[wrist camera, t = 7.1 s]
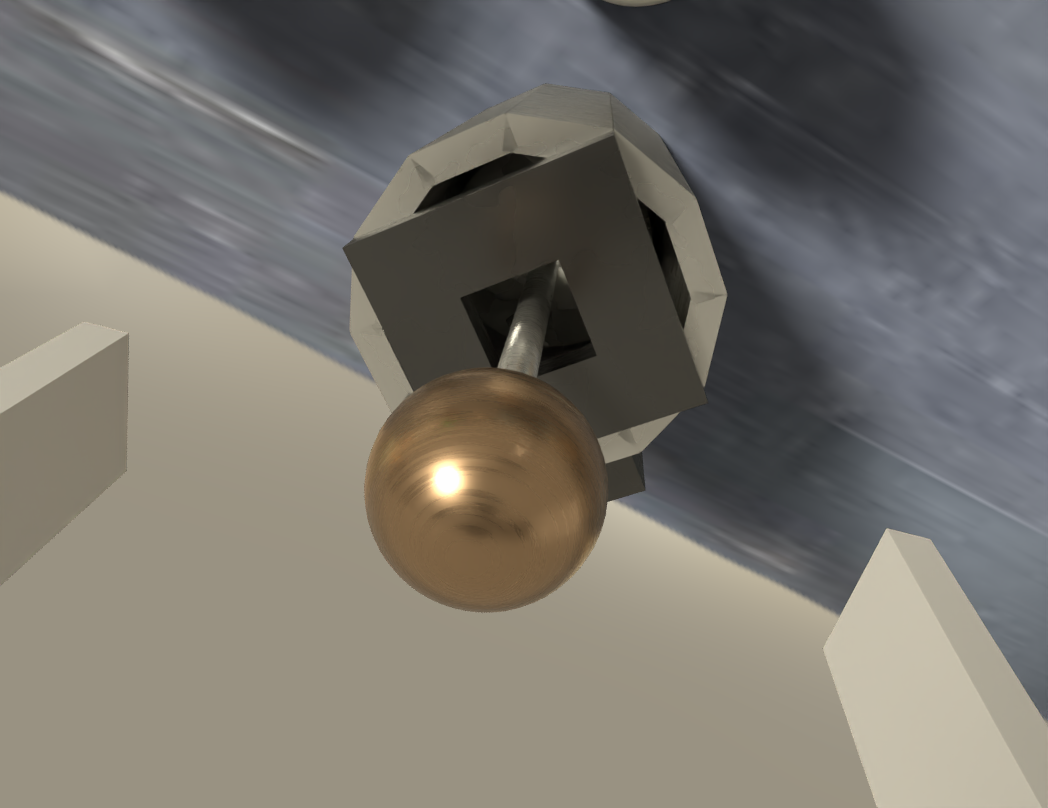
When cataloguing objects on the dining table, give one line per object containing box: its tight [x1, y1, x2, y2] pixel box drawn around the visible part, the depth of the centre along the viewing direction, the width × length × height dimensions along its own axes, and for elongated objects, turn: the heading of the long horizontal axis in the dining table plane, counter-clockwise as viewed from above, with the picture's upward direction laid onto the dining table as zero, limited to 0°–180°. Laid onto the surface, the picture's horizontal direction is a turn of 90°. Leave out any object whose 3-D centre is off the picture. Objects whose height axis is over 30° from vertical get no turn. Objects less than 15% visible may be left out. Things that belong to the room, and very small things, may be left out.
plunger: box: [364, 153, 653, 612], centre depth 22 cm, size 8×8×21 cm
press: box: [343, 83, 727, 502], centre depth 31 cm, size 11×14×17 cm
